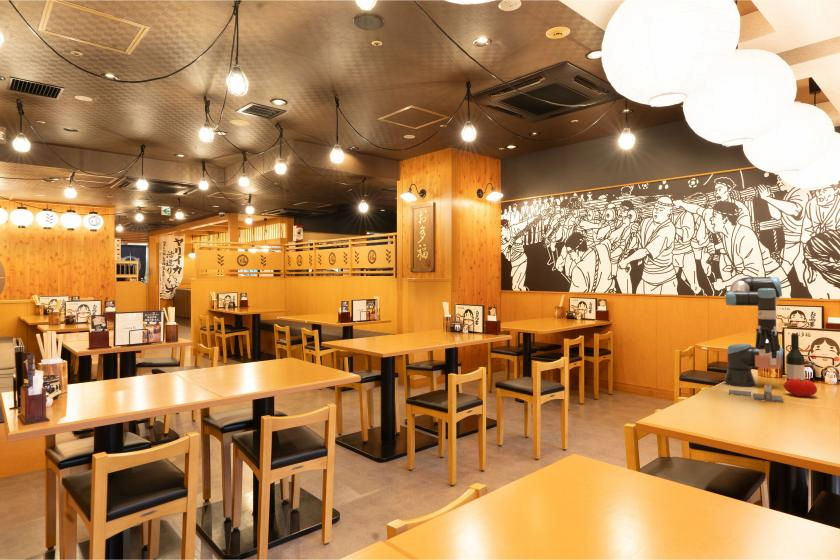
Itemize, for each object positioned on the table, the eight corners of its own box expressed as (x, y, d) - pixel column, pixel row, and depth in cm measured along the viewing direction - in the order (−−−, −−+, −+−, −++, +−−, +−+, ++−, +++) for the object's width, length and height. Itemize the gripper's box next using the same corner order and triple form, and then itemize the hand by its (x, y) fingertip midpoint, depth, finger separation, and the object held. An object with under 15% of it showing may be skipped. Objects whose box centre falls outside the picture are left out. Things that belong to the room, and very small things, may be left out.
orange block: (770, 366, 255) (770, 352, 255) (780, 368, 248) (780, 354, 248) (755, 366, 255) (754, 352, 256) (764, 368, 248) (764, 354, 248)
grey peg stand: (753, 395, 260) (753, 381, 260) (781, 397, 253) (781, 384, 253) (754, 399, 249) (754, 386, 249) (783, 402, 243) (783, 388, 243)
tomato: (819, 395, 258) (819, 378, 258) (815, 399, 249) (815, 382, 249) (787, 391, 268) (787, 375, 268) (782, 395, 259) (782, 378, 259)
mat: (728, 390, 270) (728, 389, 270) (750, 392, 265) (750, 391, 265) (728, 394, 262) (728, 393, 262) (751, 396, 257) (751, 395, 257)
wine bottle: (808, 387, 278) (807, 334, 278) (793, 387, 278) (792, 334, 278) (797, 384, 286) (796, 332, 286) (782, 384, 286) (782, 332, 286)
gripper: (746, 317, 262) (747, 360, 262) (772, 320, 241) (773, 366, 241) (761, 316, 262) (762, 359, 262) (788, 320, 241) (789, 366, 241)
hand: (767, 363), depth 252 cm, fingers closed on orange block, 8 cm apart
